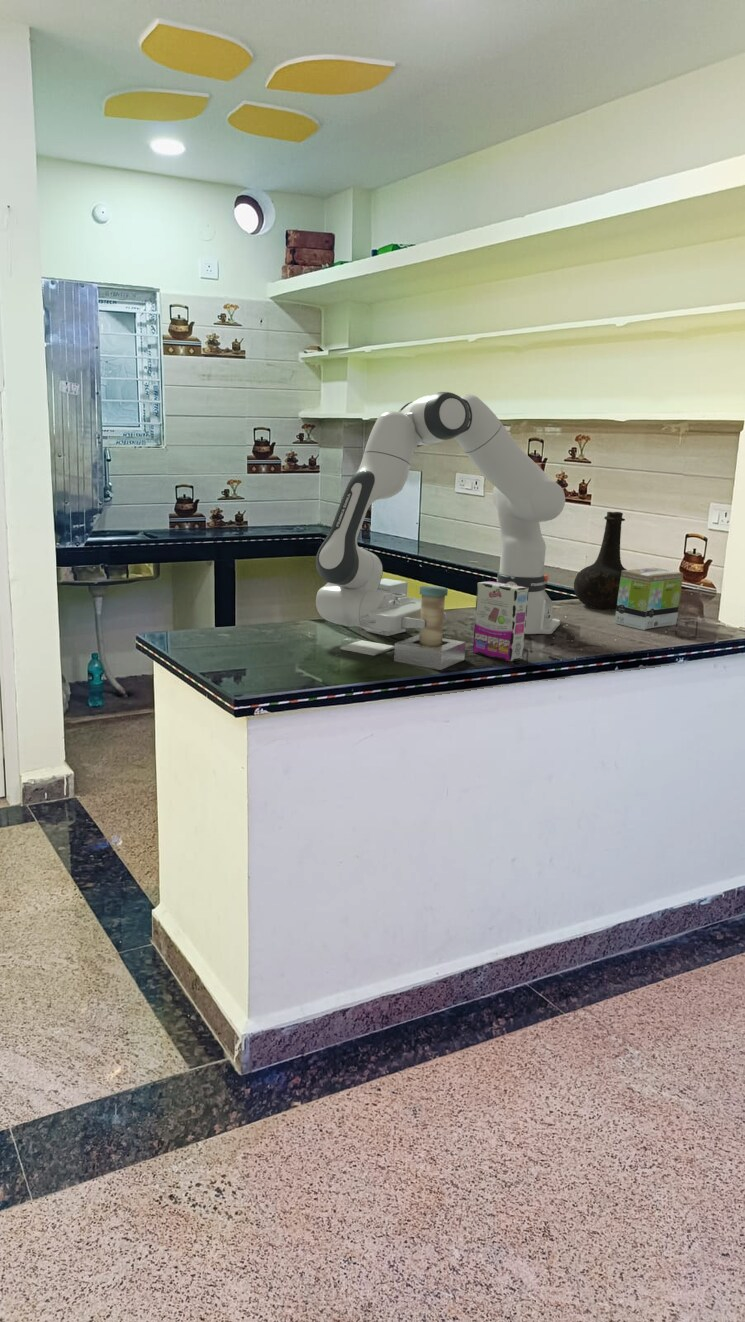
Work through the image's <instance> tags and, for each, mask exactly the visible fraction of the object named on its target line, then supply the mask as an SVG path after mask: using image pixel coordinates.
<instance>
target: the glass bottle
mask: <svg viewBox="0 0 745 1322" xmlns="http://www.w3.org/2000/svg"><path fill="white" fill-rule="evenodd" d="M623 515H624V513H623V512H621V511H607V512H606V516H604V519H605V520H606V521H605V526H604V533H603V537H602V542H601V546H600V549H599V553H598V556H597V558H596V560H595V562H594V563H592V564H591V565H587V566H585V567H584V568H582V569H581V570H580V571H579V572H578V573H577V575H576V576H575V578H574V582H573V591H574V594H575V596H576V597H577V599H578V601H579V602H581V604H583V605H585V606H587V607H589V608H593V609H598V610H606V611H616V608H617V600H618V593H619V586H620V579H621V572H622V570H628V569H626V568H625V566H623V565H622V561H621V537H622V536H621V535H622V522H624V521H626V519H625V518H623Z"/></svg>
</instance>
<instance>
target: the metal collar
mask: <svg viewBox="0 0 745 1322" xmlns="http://www.w3.org/2000/svg"><path fill="white" fill-rule="evenodd" d="M419 635H420V633H419V634H417V635H415V636H411V637H408V638H405V639H403V640H399V641H397V642H394V646H395V648H394V653H393V662H397V663H403V664H406V665H407V664H408V665H412V666H417V667H424V668H428V669H433V670H438V671H439V670H440V671H441V670H444V669H446V668H448V667H450V666H451V667H452V666H453V665H455V664H458V663H460V662H462V661H464V660H465V657H466V656H465V655H466V641H462V640H456V639H451V638H445V637H444V638H443V637H442V646H440V647H437V648H436V647H431V646H425V645H419Z"/></svg>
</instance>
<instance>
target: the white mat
mask: <svg viewBox="0 0 745 1322" xmlns="http://www.w3.org/2000/svg"><path fill="white" fill-rule="evenodd" d="M340 650H342V651H348V652H349V651H350V652H351V653H358V654H363V655H369V656H377V655H380V654H383V653H386V652H388V651H391V650H395V645H391V644H390V645H389V644H384V643H379V642H373V641H369V640H368V641H367V640H362V639H361V640H358V641H355V642H354V641H353V642H351V643H349V644H345V645H342V646H340Z"/></svg>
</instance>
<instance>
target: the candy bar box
mask: <svg viewBox="0 0 745 1322" xmlns="http://www.w3.org/2000/svg"><path fill="white" fill-rule="evenodd" d="M528 591H529V588H527V587H522V586H517V585H510V584H505V583H499V582H497V581H491V580H488V581H486V580H485V581H481V582H477V588H476V601H475V614H474V628H473V629H474V631H473V643H472V653H475V654H478V655H482V656H485V657H490V658H494V659H498V660H501V661H506V662H509V663H511V662H516V661H520V660H521V661H522V659H524V650H525V649H524V648H525V637H526V634H525V627H526V615H527V603H528Z"/></svg>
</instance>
